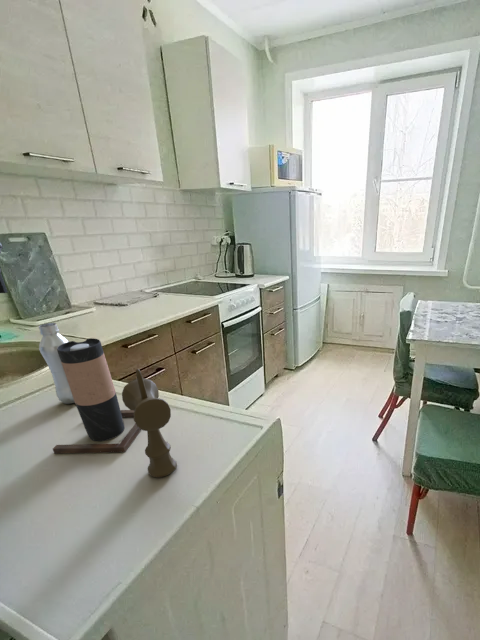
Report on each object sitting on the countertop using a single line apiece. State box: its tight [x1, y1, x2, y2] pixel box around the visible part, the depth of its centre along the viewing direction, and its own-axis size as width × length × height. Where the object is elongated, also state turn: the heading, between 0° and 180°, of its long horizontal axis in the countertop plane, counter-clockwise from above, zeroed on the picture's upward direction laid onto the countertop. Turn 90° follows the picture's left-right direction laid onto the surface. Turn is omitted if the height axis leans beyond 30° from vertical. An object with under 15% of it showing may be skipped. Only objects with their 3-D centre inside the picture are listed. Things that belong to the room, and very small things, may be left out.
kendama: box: [121, 368, 178, 478], centre depth 59 cm, size 6×10×20 cm, turn 33°
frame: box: [52, 409, 142, 455], centre depth 76 cm, size 14×15×1 cm
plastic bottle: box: [38, 322, 75, 405], centre depth 86 cm, size 6×7×20 cm
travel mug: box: [57, 337, 125, 442], centre depth 72 cm, size 8×8×20 cm
